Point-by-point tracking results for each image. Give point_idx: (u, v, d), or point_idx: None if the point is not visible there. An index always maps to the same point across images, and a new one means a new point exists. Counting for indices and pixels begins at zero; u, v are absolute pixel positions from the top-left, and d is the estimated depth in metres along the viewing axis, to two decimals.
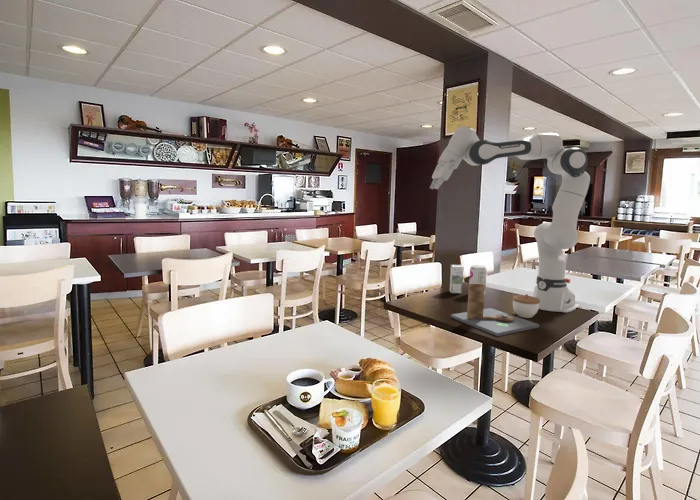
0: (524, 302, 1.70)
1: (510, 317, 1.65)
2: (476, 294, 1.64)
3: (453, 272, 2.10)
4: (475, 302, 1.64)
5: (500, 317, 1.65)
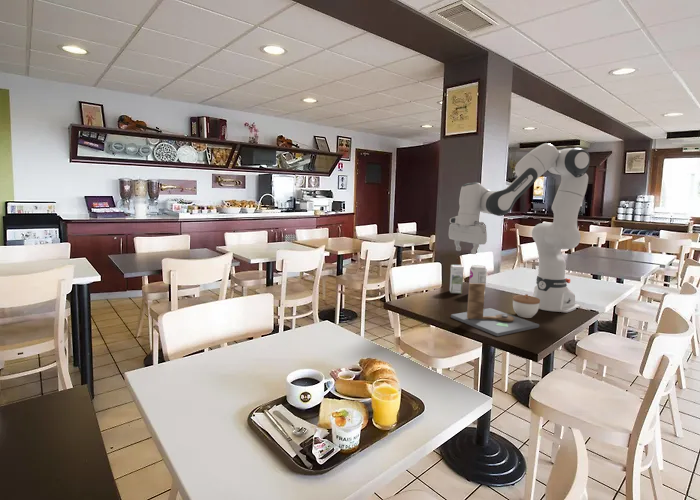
0: (524, 302, 1.70)
1: (510, 317, 1.65)
2: (476, 294, 1.64)
3: (453, 272, 2.10)
4: (475, 302, 1.64)
5: (500, 317, 1.65)
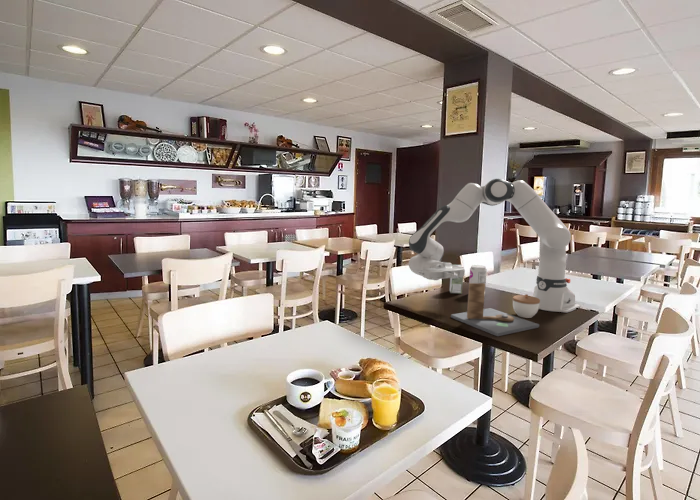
0: (524, 302, 1.70)
1: (510, 317, 1.65)
2: (476, 294, 1.64)
3: None
4: (475, 302, 1.64)
5: (500, 317, 1.65)
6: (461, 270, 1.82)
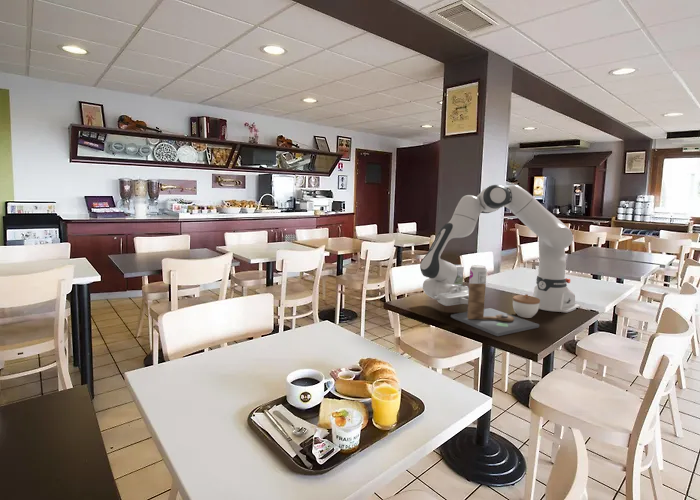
0: (524, 302, 1.70)
1: (510, 317, 1.65)
2: (477, 295, 1.63)
3: None
4: (476, 302, 1.64)
5: (500, 317, 1.65)
6: None
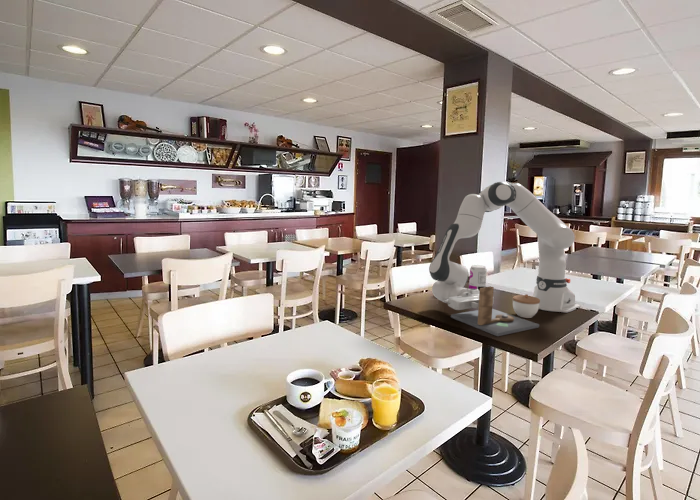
0: (524, 302, 1.70)
1: (509, 316, 1.66)
2: (487, 299, 1.57)
3: None
4: (486, 307, 1.57)
5: (503, 318, 1.64)
6: None
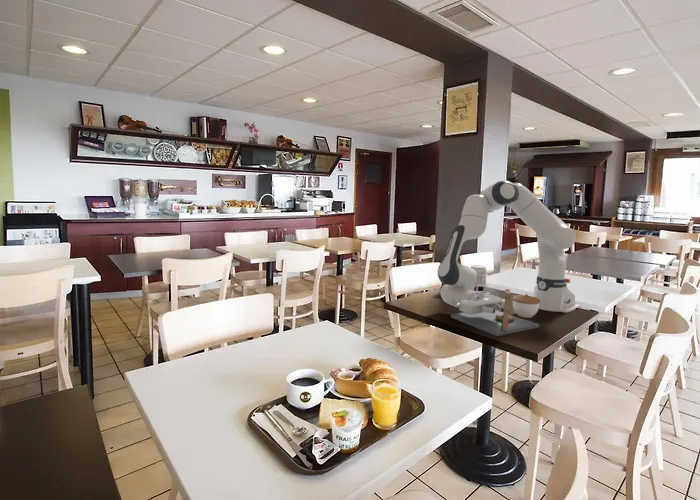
0: (524, 302, 1.70)
1: None
2: None
3: None
4: None
5: None
6: (502, 302, 1.63)
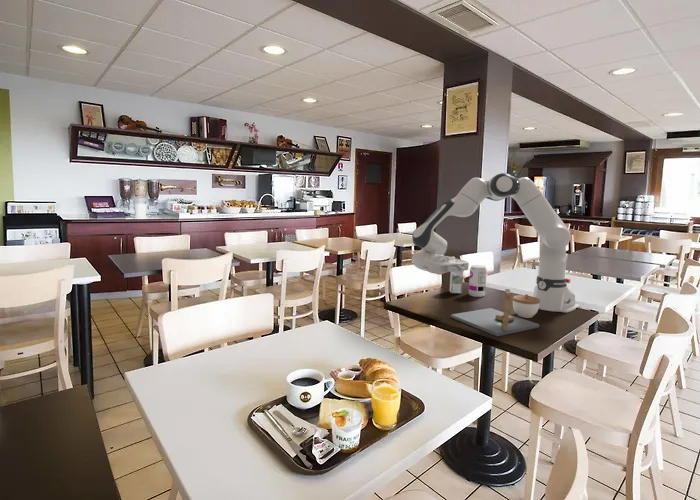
0: (524, 302, 1.70)
1: None
2: None
3: (453, 272, 2.10)
4: None
5: None
6: (465, 264, 1.79)
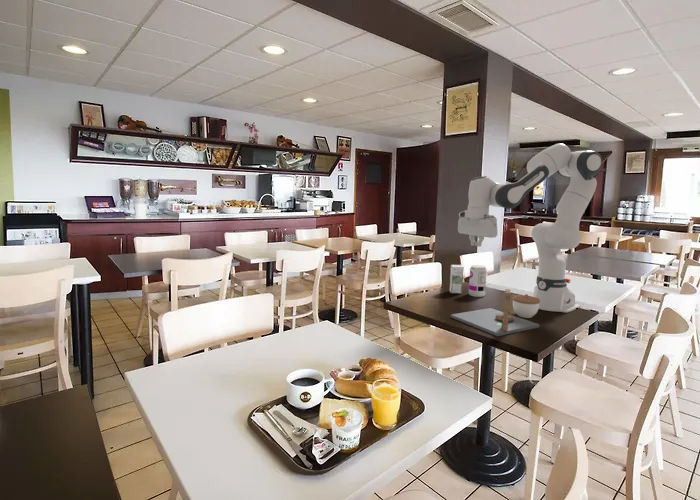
0: (524, 302, 1.70)
1: None
2: None
3: (453, 272, 2.10)
4: None
5: None
6: None
